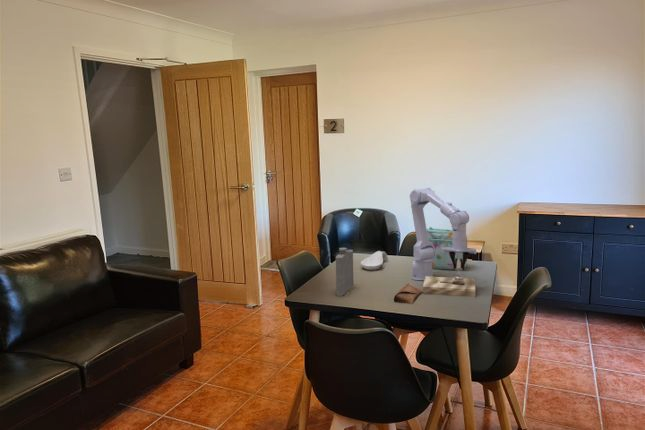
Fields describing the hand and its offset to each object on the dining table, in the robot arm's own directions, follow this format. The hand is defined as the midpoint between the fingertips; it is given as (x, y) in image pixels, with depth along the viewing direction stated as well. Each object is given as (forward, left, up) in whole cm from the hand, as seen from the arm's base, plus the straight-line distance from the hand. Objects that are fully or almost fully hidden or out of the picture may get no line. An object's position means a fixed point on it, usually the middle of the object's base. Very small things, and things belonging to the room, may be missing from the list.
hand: (458, 268), depth 202 cm
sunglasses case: (-21, -13, -11) cm, 27 cm away
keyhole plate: (-4, 0, -10) cm, 11 cm away
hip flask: (-50, -11, -10) cm, 52 cm away
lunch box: (-9, +37, -10) cm, 39 cm away
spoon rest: (-43, +34, -10) cm, 56 cm away
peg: (0, 0, -5) cm, 5 cm away
